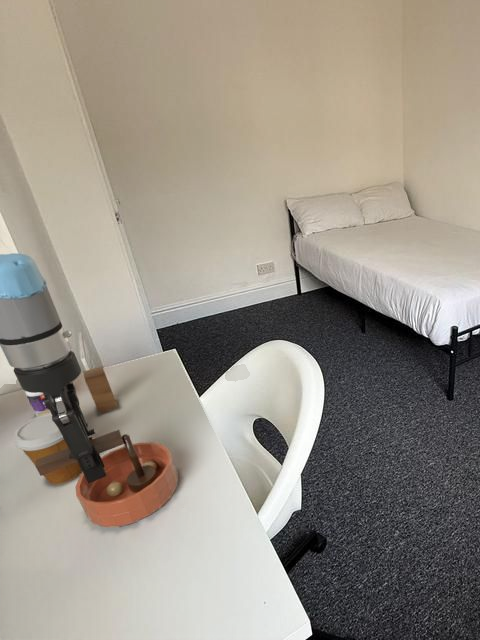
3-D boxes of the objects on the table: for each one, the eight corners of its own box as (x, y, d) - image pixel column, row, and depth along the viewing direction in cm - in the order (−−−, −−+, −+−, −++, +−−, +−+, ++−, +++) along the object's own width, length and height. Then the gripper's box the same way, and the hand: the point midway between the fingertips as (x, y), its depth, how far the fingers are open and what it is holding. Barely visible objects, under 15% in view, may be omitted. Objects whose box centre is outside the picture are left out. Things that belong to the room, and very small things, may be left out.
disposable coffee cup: (42, 465, 86) (18, 419, 80) (96, 450, 90) (76, 404, 84) (32, 498, 78) (4, 449, 73) (91, 479, 82) (69, 432, 77)
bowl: (84, 489, 80) (72, 466, 77) (168, 454, 88) (160, 432, 85) (92, 545, 69) (79, 520, 66) (187, 499, 77) (179, 475, 74)
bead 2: (138, 474, 81) (143, 466, 83) (151, 478, 82) (157, 470, 84) (141, 464, 80) (147, 456, 83) (155, 468, 81) (160, 459, 83)
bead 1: (108, 493, 78) (103, 483, 77) (123, 486, 80) (119, 476, 78) (110, 501, 76) (105, 491, 75) (126, 494, 78) (121, 484, 76)
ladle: (156, 469, 82) (136, 418, 76) (161, 484, 78) (141, 432, 73) (64, 507, 74) (35, 454, 69) (66, 526, 71) (35, 472, 65)
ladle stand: (97, 406, 104) (82, 371, 99) (115, 400, 106) (102, 365, 101) (99, 414, 101) (84, 378, 96) (118, 408, 103) (104, 372, 98)
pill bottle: (52, 419, 100) (36, 385, 95) (31, 418, 100) (13, 385, 95) (69, 405, 104) (54, 372, 100) (48, 405, 105) (32, 372, 100)
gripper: (76, 370, 59) (127, 490, 70) (70, 333, 70) (114, 442, 80) (9, 389, 55) (73, 513, 66) (13, 347, 66) (68, 459, 77)
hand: (96, 473), depth 73 cm, fingers closed on ladle, 2 cm apart
